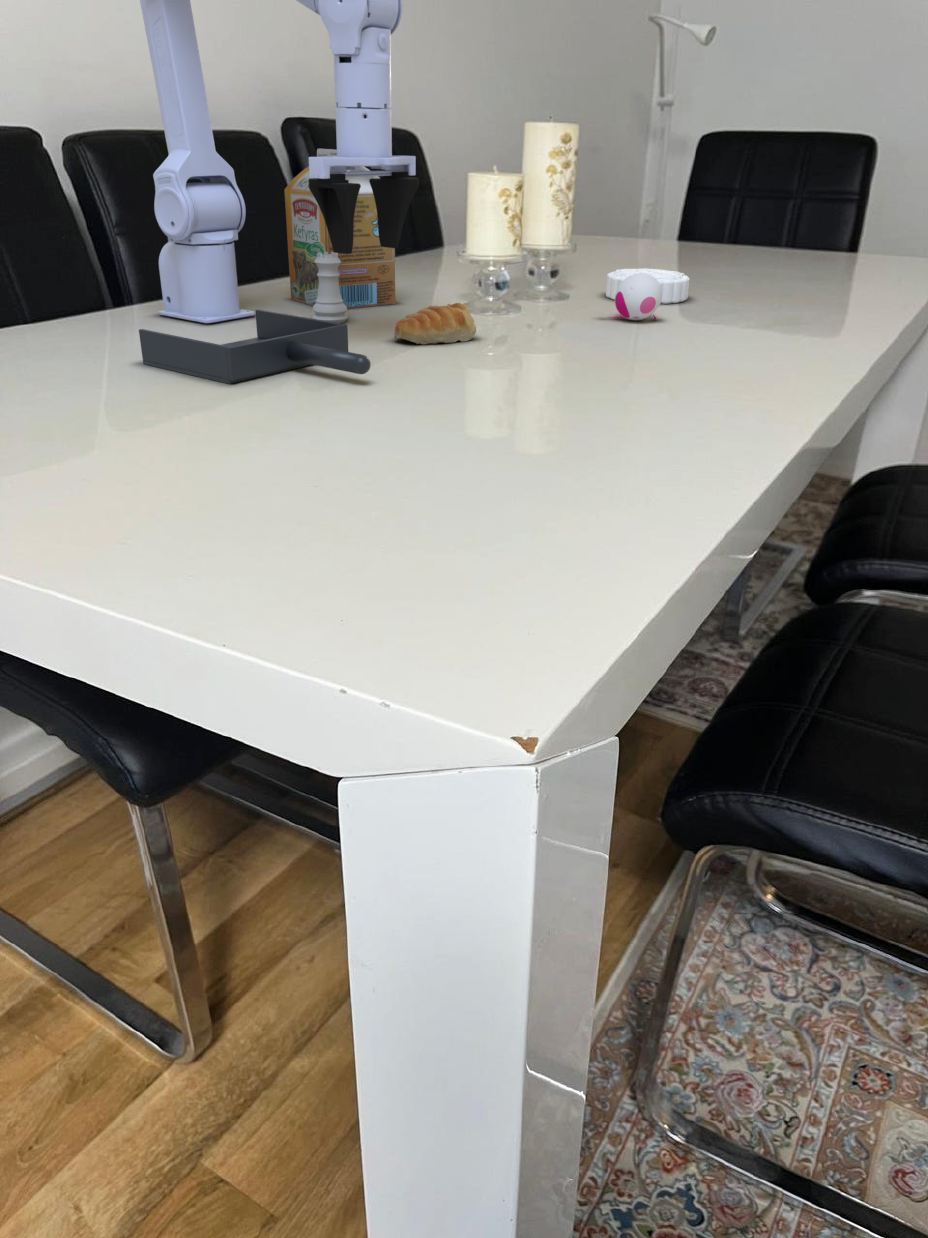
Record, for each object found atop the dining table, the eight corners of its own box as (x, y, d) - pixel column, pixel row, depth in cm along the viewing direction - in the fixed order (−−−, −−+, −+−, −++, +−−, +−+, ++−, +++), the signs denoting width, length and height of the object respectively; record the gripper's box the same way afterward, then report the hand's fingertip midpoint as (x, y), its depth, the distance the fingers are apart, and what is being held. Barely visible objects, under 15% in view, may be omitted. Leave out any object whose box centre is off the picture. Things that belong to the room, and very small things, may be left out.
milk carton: (291, 299, 135) (282, 148, 126) (356, 293, 140) (351, 148, 132) (328, 310, 127) (321, 150, 119) (395, 303, 133) (393, 150, 124)
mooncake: (674, 291, 148) (677, 266, 146) (697, 304, 137) (700, 278, 135) (597, 290, 147) (599, 266, 145) (614, 304, 136) (617, 277, 134)
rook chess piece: (313, 317, 122) (309, 250, 119) (348, 317, 123) (346, 251, 119) (311, 324, 118) (307, 255, 115) (347, 324, 119) (345, 255, 115)
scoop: (142, 363, 98) (138, 329, 96) (260, 340, 109) (258, 309, 108) (308, 402, 85) (306, 363, 84) (421, 371, 97) (421, 336, 95)
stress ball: (617, 339, 130) (592, 296, 128) (669, 305, 128) (645, 261, 126) (621, 348, 123) (595, 303, 121) (677, 313, 121) (651, 266, 119)
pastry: (415, 348, 106) (415, 313, 105) (381, 339, 111) (380, 304, 109) (481, 339, 112) (481, 305, 110) (445, 330, 116) (445, 297, 115)
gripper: (343, 107, 91) (348, 259, 97) (437, 110, 102) (436, 247, 108) (290, 106, 95) (298, 252, 101) (387, 109, 105) (388, 242, 111)
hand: (366, 250), depth 105 cm, fingers open, 7 cm apart
